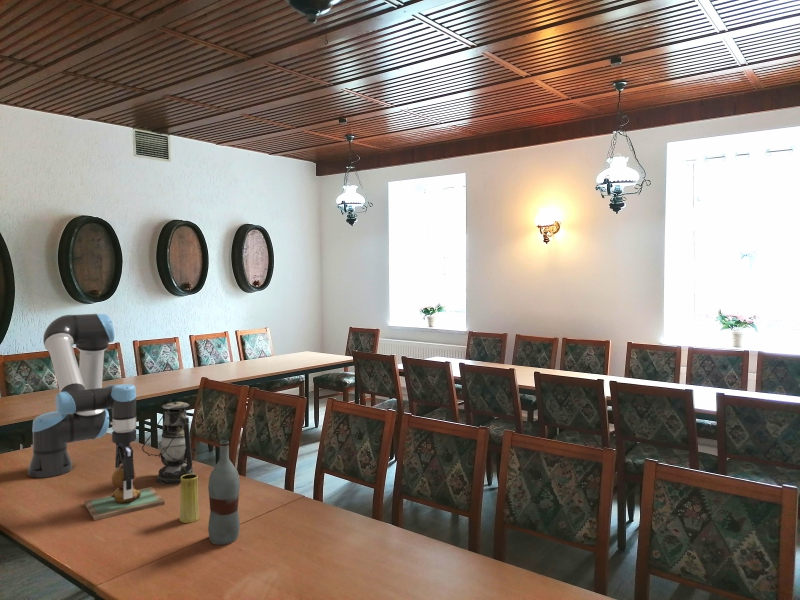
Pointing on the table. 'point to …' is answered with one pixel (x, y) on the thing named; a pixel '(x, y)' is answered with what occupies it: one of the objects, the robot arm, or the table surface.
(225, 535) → the bottle
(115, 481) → the figurine
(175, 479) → the lantern
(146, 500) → the green framed board
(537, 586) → the table surface
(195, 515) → the vase
